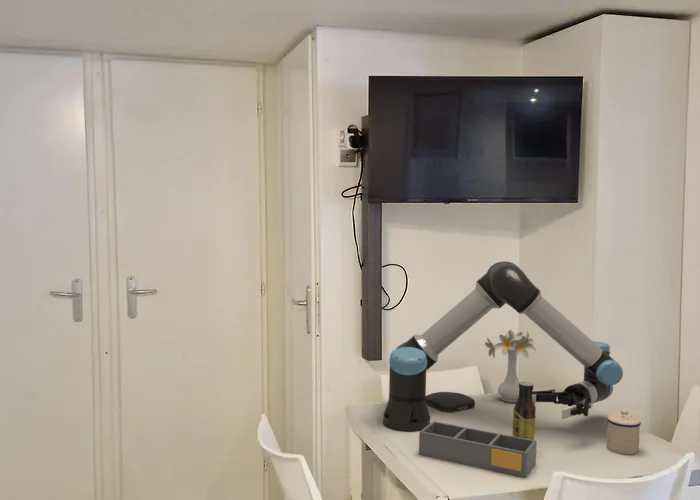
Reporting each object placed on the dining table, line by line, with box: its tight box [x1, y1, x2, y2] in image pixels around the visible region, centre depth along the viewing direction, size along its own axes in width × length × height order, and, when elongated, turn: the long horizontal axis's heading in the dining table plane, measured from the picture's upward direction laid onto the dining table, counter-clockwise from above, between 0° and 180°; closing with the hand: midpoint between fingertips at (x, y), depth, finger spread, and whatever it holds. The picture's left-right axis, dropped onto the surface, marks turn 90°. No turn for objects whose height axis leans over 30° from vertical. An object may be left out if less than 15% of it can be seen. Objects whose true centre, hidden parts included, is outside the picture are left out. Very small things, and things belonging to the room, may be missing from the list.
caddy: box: [418, 420, 538, 478], centre depth 186 cm, size 30×11×6 cm, turn 61°
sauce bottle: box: [511, 381, 537, 440], centre depth 193 cm, size 6×6×20 cm
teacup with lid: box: [604, 409, 642, 455], centre depth 197 cm, size 12×9×12 cm
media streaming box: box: [425, 391, 476, 413], centre depth 235 cm, size 15×15×3 cm
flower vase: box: [484, 329, 537, 403], centre depth 240 cm, size 13×18×25 cm
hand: (542, 408), depth 199 cm, fingers open, 13 cm apart
